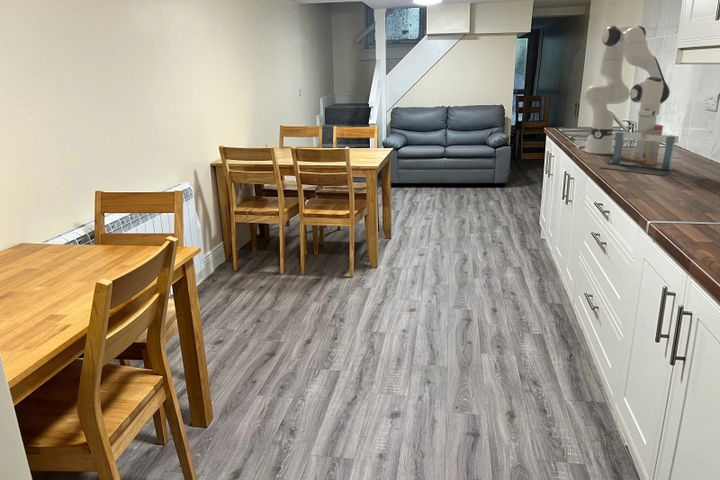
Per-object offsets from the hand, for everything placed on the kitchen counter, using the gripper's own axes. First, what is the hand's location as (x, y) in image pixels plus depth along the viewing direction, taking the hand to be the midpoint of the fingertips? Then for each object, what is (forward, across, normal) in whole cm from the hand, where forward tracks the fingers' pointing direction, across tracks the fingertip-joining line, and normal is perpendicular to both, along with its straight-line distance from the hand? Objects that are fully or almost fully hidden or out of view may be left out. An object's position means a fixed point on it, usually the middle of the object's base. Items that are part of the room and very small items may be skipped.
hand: (644, 138), depth 278 cm
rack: (+15, 0, 0) cm, 15 cm away
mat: (+15, +12, 0) cm, 19 cm away
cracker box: (+15, -14, -1) cm, 20 cm away
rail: (+1, 0, 0) cm, 1 cm away
